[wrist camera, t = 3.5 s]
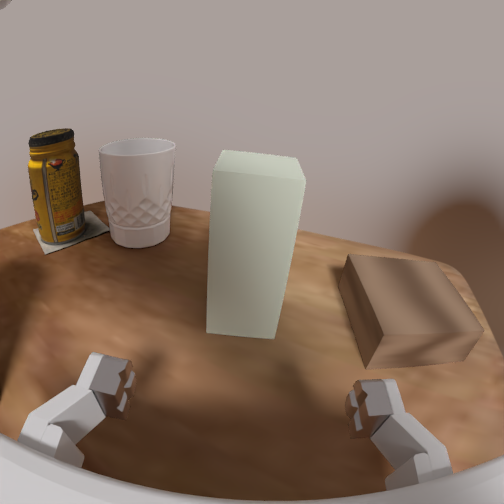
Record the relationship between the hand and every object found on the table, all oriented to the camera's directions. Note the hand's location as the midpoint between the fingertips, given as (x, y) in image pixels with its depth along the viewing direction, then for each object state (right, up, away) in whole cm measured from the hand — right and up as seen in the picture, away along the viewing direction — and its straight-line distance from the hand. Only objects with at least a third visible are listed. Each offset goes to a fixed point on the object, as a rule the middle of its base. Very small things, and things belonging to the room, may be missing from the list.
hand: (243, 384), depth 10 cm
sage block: (-1, 0, +14) cm, 14 cm away
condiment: (-21, +7, +22) cm, 31 cm away
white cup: (-12, +7, +23) cm, 27 cm away
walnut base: (+13, -2, +15) cm, 20 cm away
